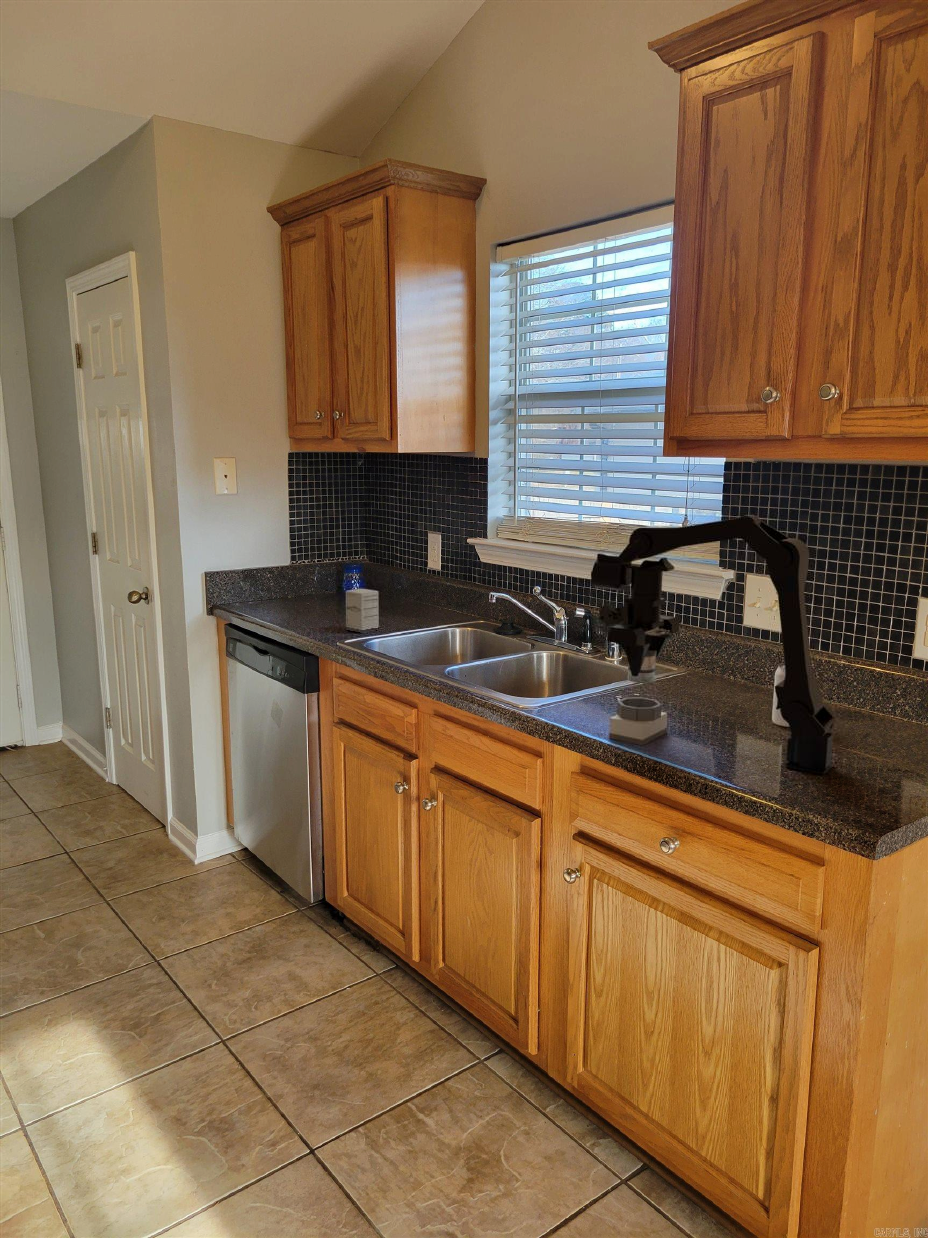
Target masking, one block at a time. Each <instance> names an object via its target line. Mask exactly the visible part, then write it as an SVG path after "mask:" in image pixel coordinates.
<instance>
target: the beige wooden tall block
mask: <svg viewBox="0 0 928 1238" xmlns="http://www.w3.org/2000/svg"><path fill="white" fill-rule="evenodd" d="M379 625H380V623H379V591H378V590H374V589H368V588H356V589H349V590H348V589H347V590H346V591H345V628H346V627H349V628H354V629H359V630H366V629H371V628H378V627H380V626H379Z"/></svg>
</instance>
